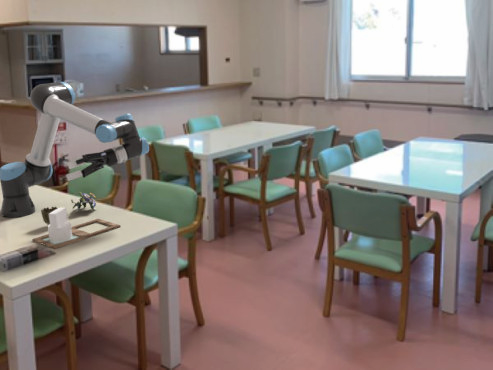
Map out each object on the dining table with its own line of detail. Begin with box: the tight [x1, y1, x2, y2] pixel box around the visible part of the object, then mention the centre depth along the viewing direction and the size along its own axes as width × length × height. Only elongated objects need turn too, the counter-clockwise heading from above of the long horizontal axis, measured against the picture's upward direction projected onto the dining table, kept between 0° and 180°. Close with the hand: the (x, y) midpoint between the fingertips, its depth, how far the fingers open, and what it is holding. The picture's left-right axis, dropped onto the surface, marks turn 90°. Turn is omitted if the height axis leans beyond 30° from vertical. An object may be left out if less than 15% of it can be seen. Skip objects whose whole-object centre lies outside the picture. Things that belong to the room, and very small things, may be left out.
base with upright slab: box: [47, 207, 72, 243], centre depth 233 cm, size 9×9×12 cm
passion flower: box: [70, 191, 97, 213], centre depth 271 cm, size 11×11×12 cm
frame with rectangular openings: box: [32, 218, 121, 250], centre depth 240 cm, size 16×32×1 cm, turn 140°
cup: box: [40, 206, 59, 227], centre depth 250 cm, size 8×7×8 cm
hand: (67, 172), depth 241 cm, fingers open, 13 cm apart
